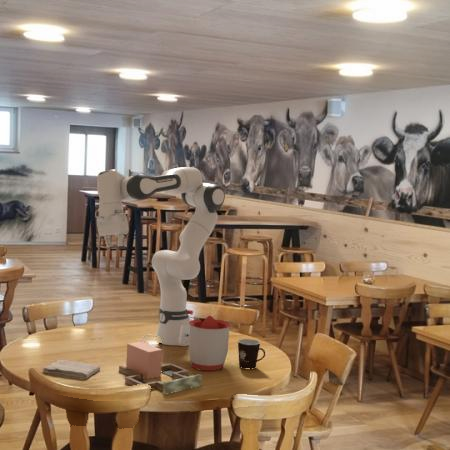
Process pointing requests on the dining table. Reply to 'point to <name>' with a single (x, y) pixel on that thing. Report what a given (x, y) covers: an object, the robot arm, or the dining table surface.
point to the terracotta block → (144, 359)
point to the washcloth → (71, 369)
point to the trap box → (169, 386)
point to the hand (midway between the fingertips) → (114, 246)
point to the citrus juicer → (208, 343)
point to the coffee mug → (249, 352)
